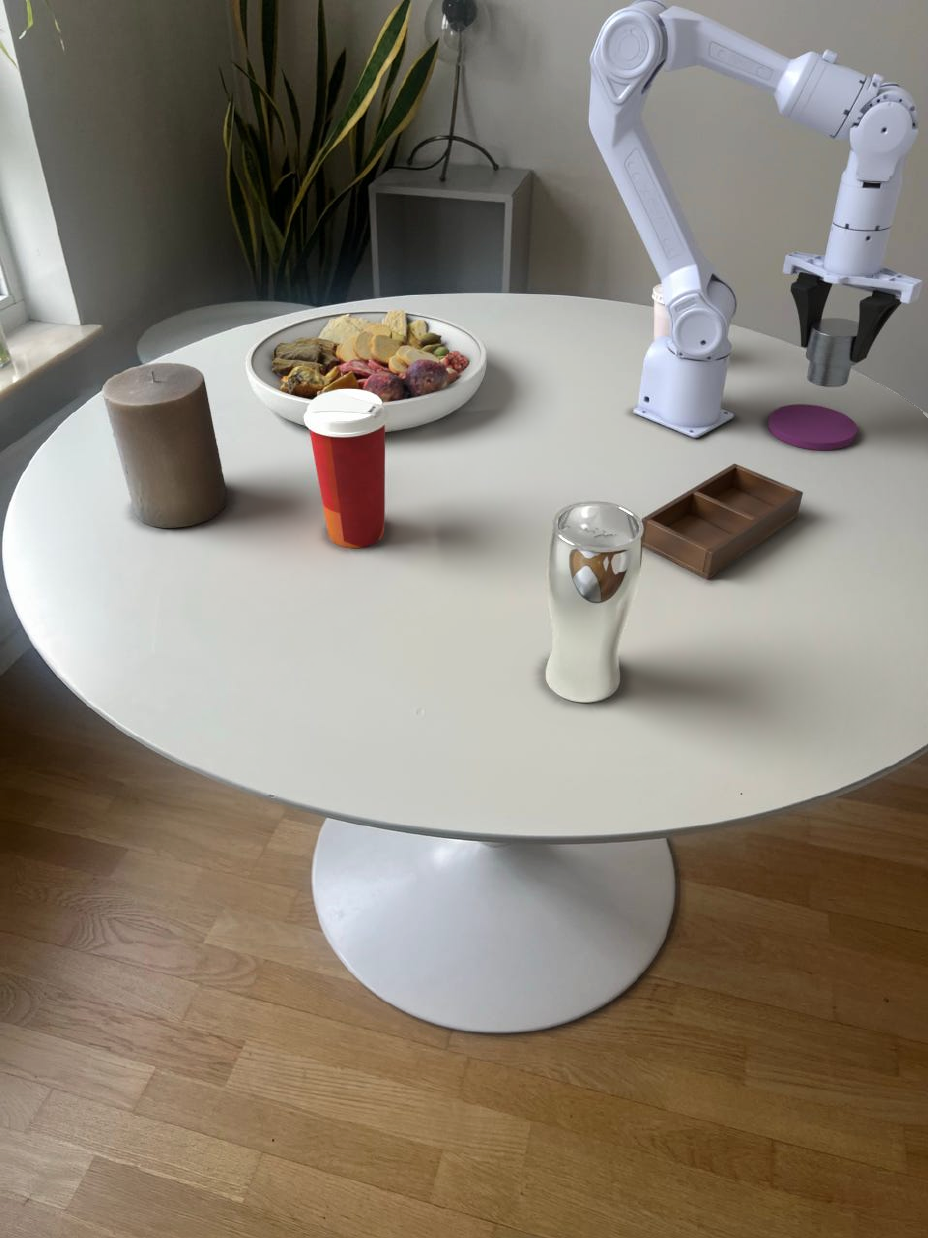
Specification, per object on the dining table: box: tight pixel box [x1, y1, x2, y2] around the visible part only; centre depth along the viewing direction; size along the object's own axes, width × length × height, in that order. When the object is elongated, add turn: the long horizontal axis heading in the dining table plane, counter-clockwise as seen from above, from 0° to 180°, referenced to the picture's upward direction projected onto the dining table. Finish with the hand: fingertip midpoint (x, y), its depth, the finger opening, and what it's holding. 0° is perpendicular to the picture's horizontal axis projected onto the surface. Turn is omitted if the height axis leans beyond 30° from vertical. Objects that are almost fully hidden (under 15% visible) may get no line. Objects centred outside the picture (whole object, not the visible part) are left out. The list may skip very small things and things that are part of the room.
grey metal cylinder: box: [805, 317, 859, 388], centre depth 103 cm, size 6×6×6 cm
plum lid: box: [767, 403, 858, 451], centre depth 111 cm, size 10×10×1 cm
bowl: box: [245, 309, 488, 433], centre depth 117 cm, size 30×30×8 cm
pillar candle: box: [101, 362, 228, 529], centre depth 93 cm, size 10×10×15 cm
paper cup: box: [304, 389, 388, 549], centre depth 89 cm, size 8×8×14 cm
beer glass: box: [545, 500, 644, 704], centre depth 72 cm, size 7×7×15 cm
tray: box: [641, 463, 804, 580], centre depth 93 cm, size 8×16×3 cm, turn 133°
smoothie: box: [651, 283, 671, 342], centre depth 122 cm, size 6×6×14 cm
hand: (832, 351), depth 103 cm, fingers closed on grey metal cylinder, 5 cm apart
